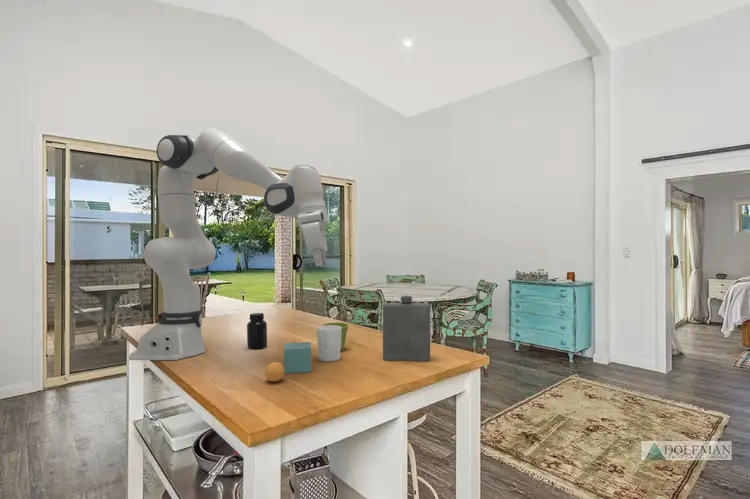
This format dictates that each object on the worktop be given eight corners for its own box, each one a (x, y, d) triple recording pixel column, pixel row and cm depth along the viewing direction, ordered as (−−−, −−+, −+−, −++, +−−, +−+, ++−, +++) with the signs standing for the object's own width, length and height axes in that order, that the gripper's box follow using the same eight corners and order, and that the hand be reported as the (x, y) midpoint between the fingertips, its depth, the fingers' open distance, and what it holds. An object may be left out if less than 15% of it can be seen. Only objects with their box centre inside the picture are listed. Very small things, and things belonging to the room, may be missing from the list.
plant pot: (348, 353, 135) (347, 327, 135) (319, 353, 135) (319, 327, 135) (350, 346, 144) (350, 322, 144) (323, 346, 144) (323, 322, 144)
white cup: (337, 363, 123) (337, 330, 123) (313, 361, 125) (313, 329, 125) (344, 356, 131) (344, 325, 131) (321, 355, 133) (321, 324, 133)
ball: (264, 385, 103) (264, 365, 103) (265, 378, 108) (265, 360, 108) (284, 383, 104) (284, 364, 104) (284, 377, 109) (284, 359, 109)
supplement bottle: (261, 344, 148) (261, 311, 148) (270, 347, 143) (270, 313, 143) (243, 347, 143) (243, 313, 143) (252, 350, 138) (252, 316, 138)
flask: (429, 357, 130) (429, 295, 130) (430, 362, 124) (430, 297, 124) (383, 355, 131) (383, 294, 131) (382, 360, 126) (382, 296, 126)
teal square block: (283, 373, 113) (283, 349, 113) (284, 365, 120) (284, 343, 120) (311, 372, 114) (311, 348, 114) (310, 364, 122) (310, 342, 122)
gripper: (307, 226, 128) (315, 268, 127) (296, 216, 107) (304, 267, 106) (327, 222, 128) (335, 265, 127) (319, 212, 107) (328, 263, 107)
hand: (321, 266), depth 116 cm, fingers open, 8 cm apart
